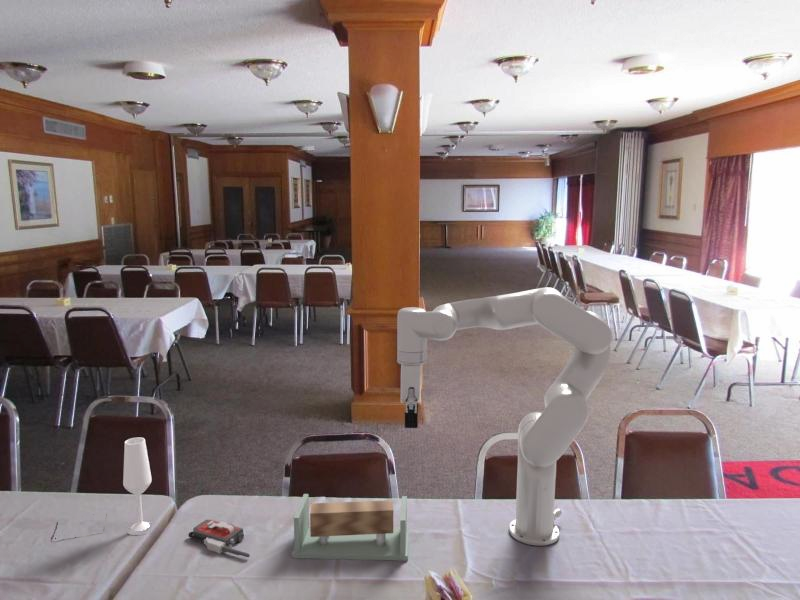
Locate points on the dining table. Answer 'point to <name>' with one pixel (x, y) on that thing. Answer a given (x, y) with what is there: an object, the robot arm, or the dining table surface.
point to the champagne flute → (137, 475)
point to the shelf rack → (349, 540)
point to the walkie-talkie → (219, 536)
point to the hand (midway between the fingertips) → (411, 420)
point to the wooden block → (351, 518)
